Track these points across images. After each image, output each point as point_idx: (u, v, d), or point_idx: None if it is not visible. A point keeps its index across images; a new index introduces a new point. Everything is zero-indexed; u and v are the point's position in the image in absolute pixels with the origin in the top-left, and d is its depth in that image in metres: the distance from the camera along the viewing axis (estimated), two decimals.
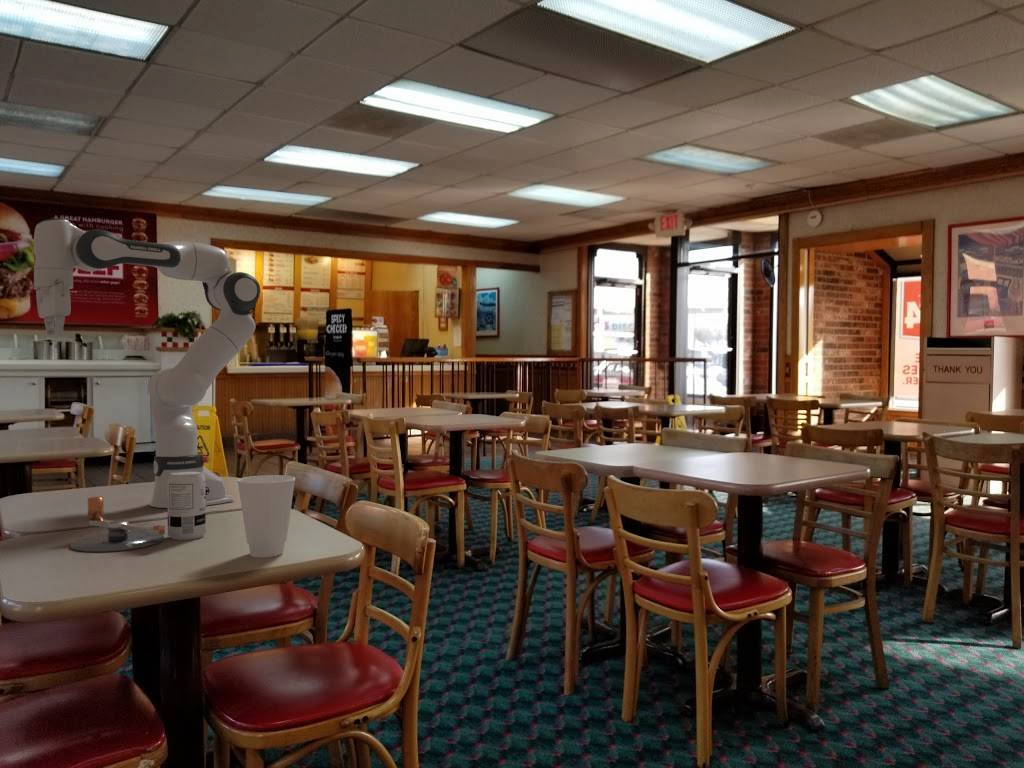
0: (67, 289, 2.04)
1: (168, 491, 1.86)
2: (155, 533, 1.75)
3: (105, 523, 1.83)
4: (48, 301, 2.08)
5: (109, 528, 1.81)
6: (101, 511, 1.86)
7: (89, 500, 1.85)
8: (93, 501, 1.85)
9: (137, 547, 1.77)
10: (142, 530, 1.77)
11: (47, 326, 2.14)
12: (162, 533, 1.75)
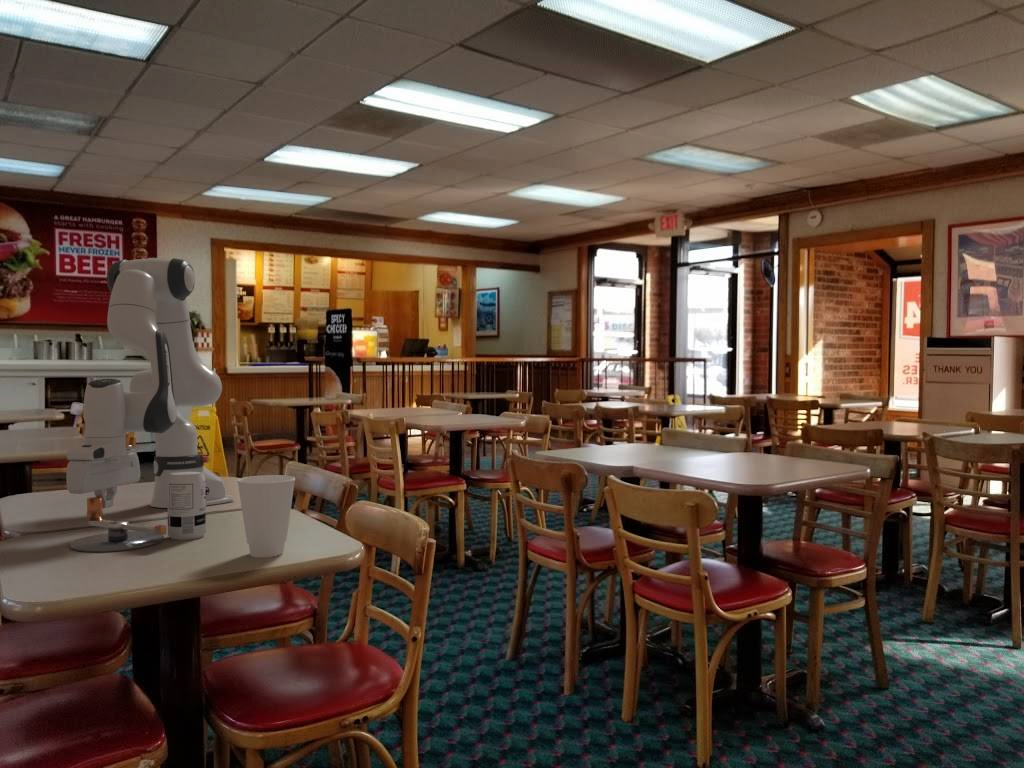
0: None
1: (168, 491, 1.86)
2: (157, 533, 1.76)
3: (105, 523, 1.83)
4: (119, 470, 1.91)
5: (109, 528, 1.81)
6: (100, 511, 1.86)
7: (88, 500, 1.85)
8: (93, 501, 1.85)
9: (137, 547, 1.77)
10: (143, 530, 1.78)
11: None
12: (164, 533, 1.76)
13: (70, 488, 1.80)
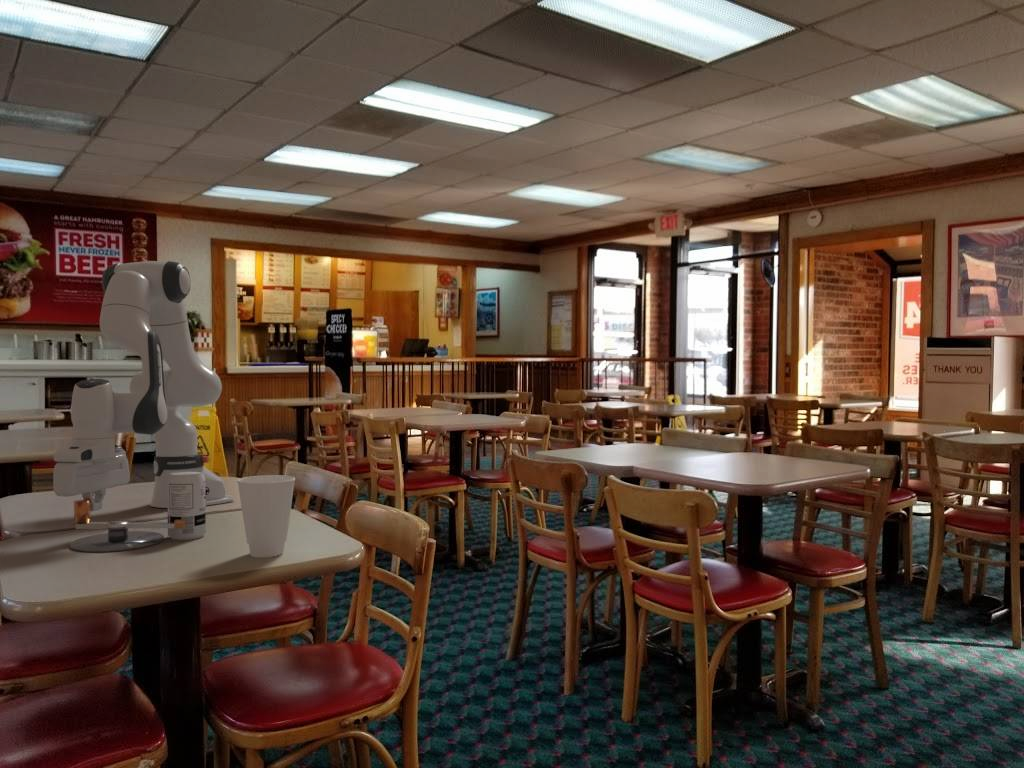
0: None
1: (168, 491, 1.86)
2: (177, 527, 1.82)
3: (102, 524, 1.82)
4: (108, 472, 1.88)
5: (113, 528, 1.80)
6: (89, 514, 1.83)
7: (78, 503, 1.81)
8: (84, 503, 1.81)
9: (137, 547, 1.77)
10: (158, 526, 1.82)
11: None
12: (184, 526, 1.83)
13: (57, 491, 1.76)
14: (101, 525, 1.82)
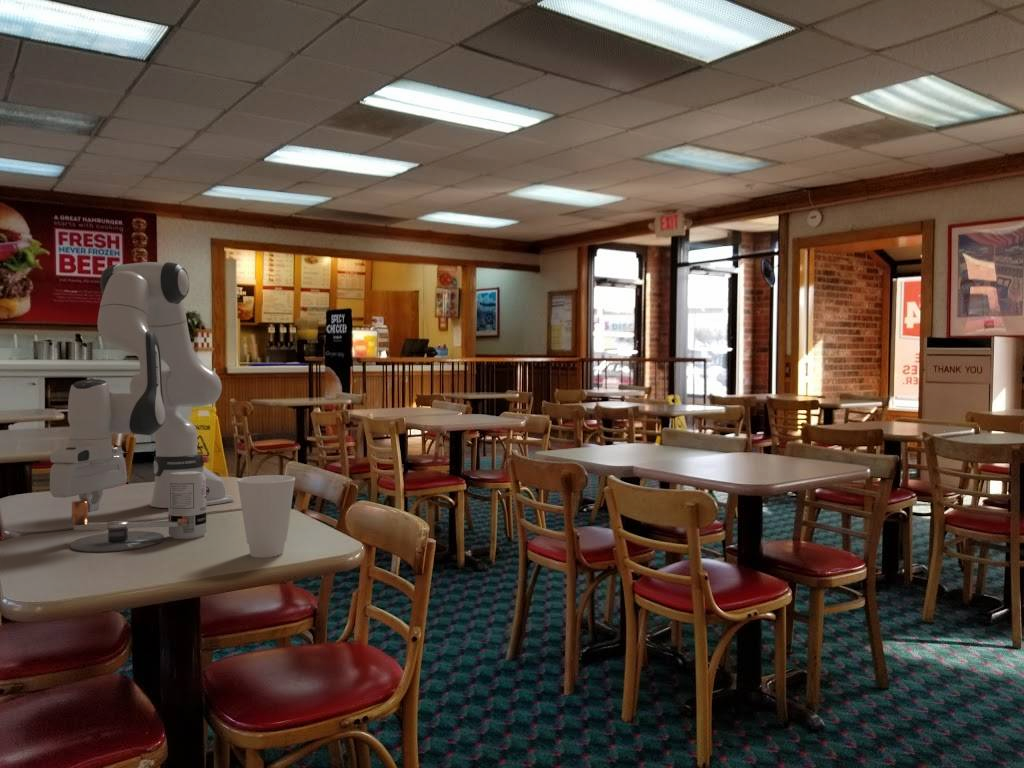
0: None
1: (169, 490, 1.87)
2: (181, 525, 1.84)
3: (101, 525, 1.81)
4: (105, 473, 1.87)
5: (115, 528, 1.80)
6: (87, 514, 1.82)
7: (77, 504, 1.80)
8: (83, 504, 1.80)
9: (137, 547, 1.77)
10: (161, 525, 1.83)
11: None
12: (187, 524, 1.85)
13: (53, 492, 1.75)
14: (101, 525, 1.81)
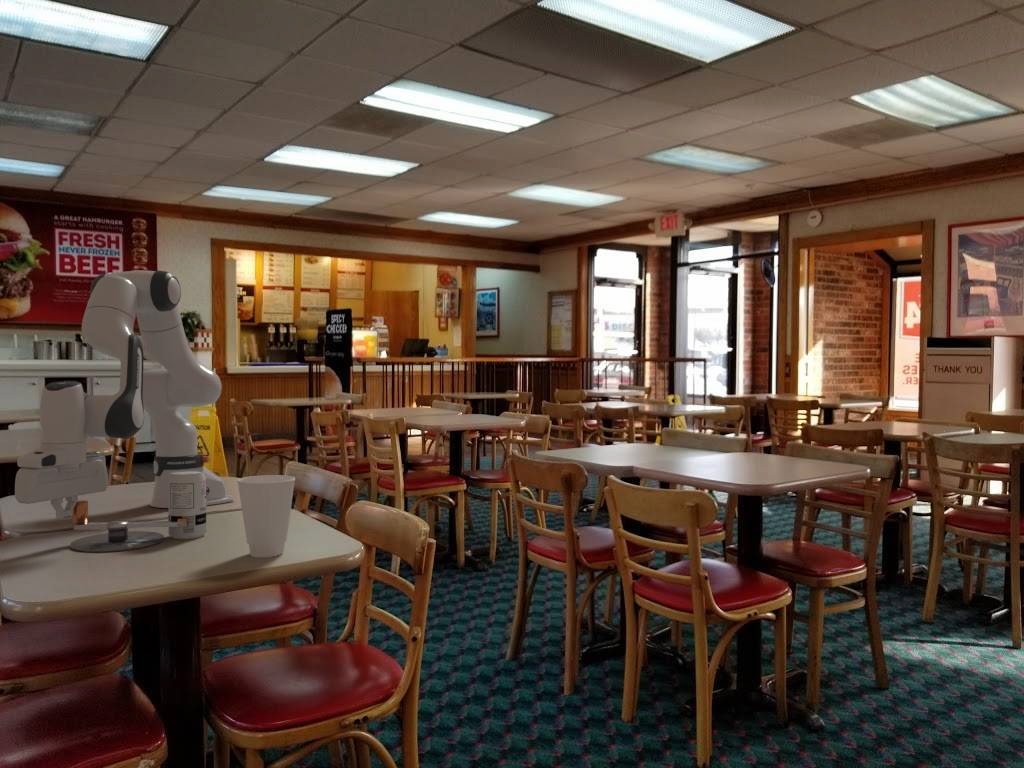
0: None
1: (169, 491, 1.87)
2: (181, 525, 1.84)
3: (101, 525, 1.81)
4: (79, 479, 1.79)
5: (115, 528, 1.80)
6: None
7: (77, 504, 1.80)
8: (83, 504, 1.80)
9: (137, 547, 1.77)
10: (161, 525, 1.83)
11: None
12: (187, 524, 1.85)
13: (17, 498, 1.69)
14: (101, 525, 1.81)
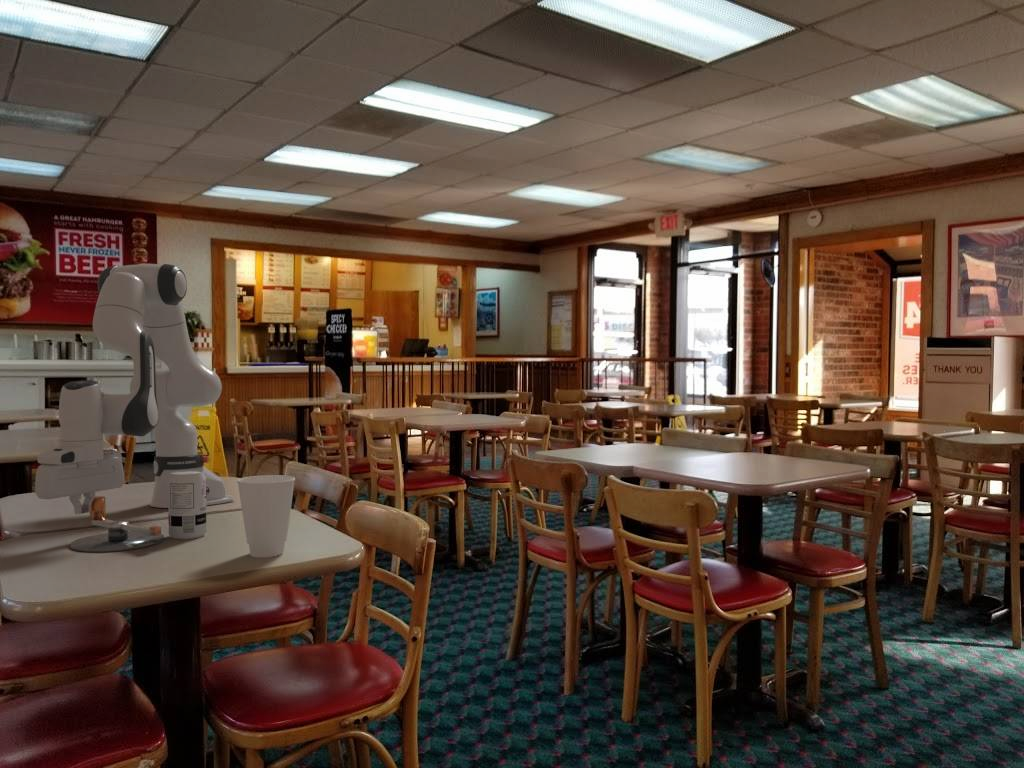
0: None
1: (169, 491, 1.87)
2: (151, 534, 1.75)
3: (106, 523, 1.83)
4: (97, 475, 1.85)
5: (109, 528, 1.81)
6: (103, 511, 1.86)
7: None
8: (95, 500, 1.85)
9: (137, 547, 1.77)
10: (139, 530, 1.77)
11: None
12: (158, 534, 1.75)
13: (38, 493, 1.75)
14: (105, 523, 1.84)
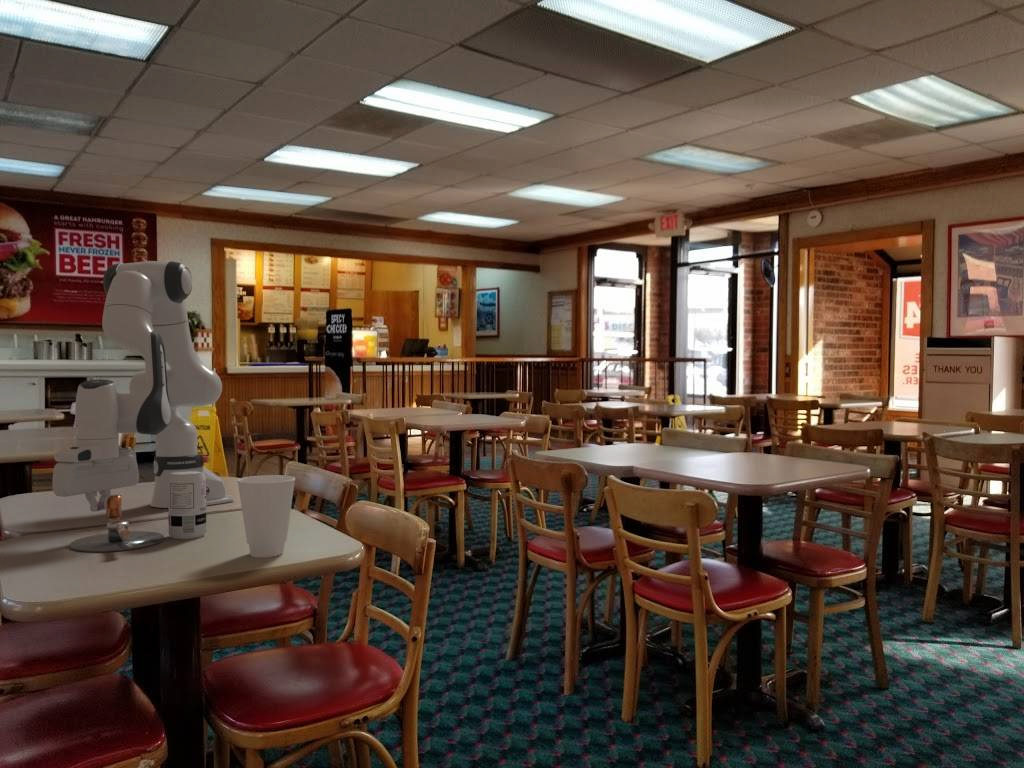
0: None
1: (169, 491, 1.87)
2: (122, 538, 1.71)
3: (111, 522, 1.85)
4: (112, 473, 1.87)
5: (107, 527, 1.81)
6: (116, 509, 1.88)
7: None
8: (108, 498, 1.88)
9: (137, 547, 1.77)
10: (119, 533, 1.74)
11: None
12: (127, 538, 1.70)
13: (55, 491, 1.77)
14: None
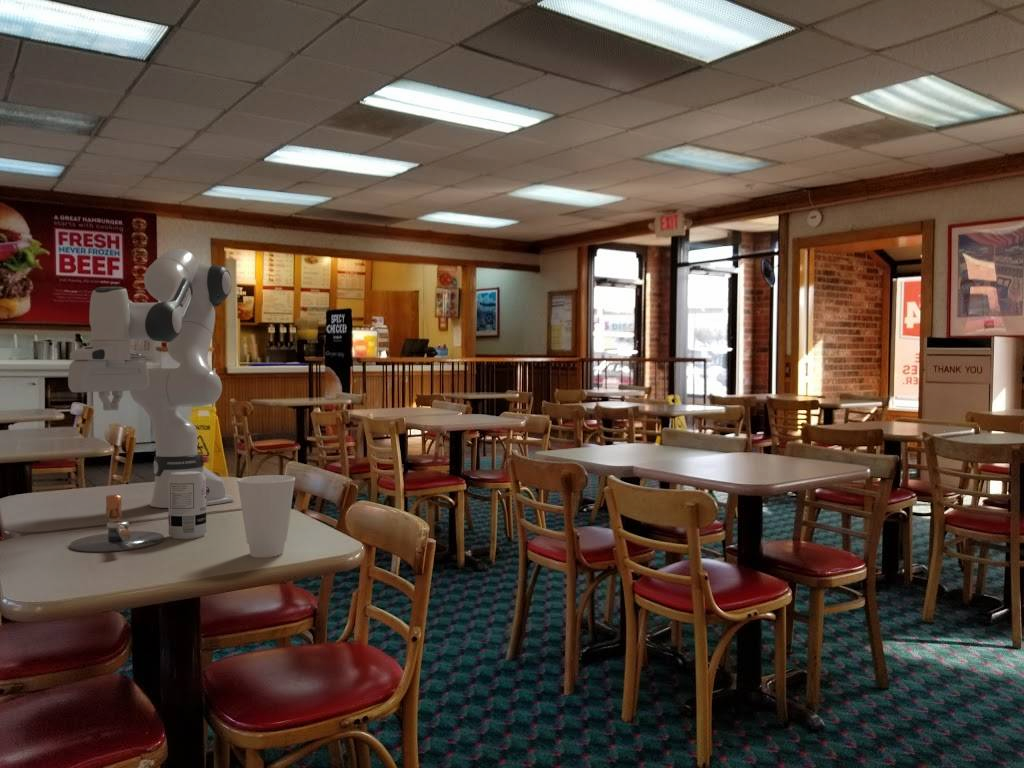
0: None
1: (169, 491, 1.87)
2: (121, 538, 1.71)
3: (111, 522, 1.85)
4: (124, 375, 1.97)
5: (107, 527, 1.81)
6: (116, 509, 1.88)
7: (106, 498, 1.88)
8: (108, 498, 1.88)
9: (137, 547, 1.77)
10: (119, 533, 1.74)
11: None
12: (126, 538, 1.70)
13: (70, 387, 1.87)
14: None
